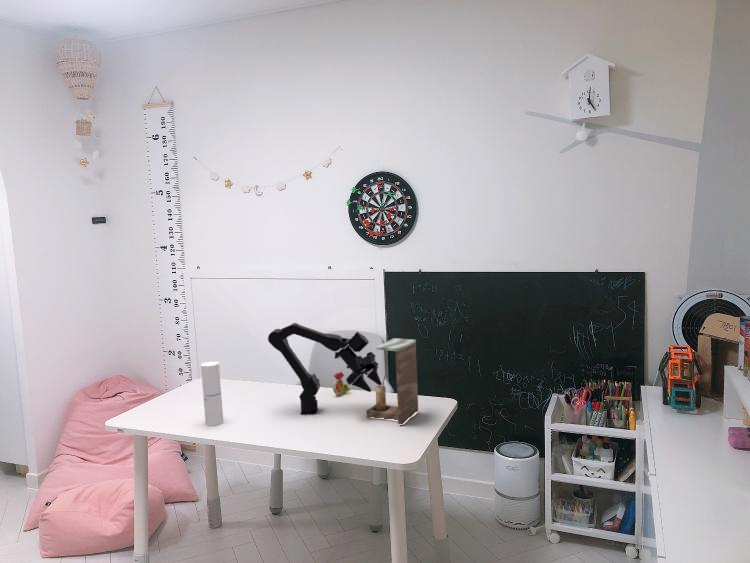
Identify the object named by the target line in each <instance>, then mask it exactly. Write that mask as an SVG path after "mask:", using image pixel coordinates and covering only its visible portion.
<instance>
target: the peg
mask: <svg viewBox="0 0 750 563" xmlns="http://www.w3.org/2000/svg"><path fill="white" fill-rule="evenodd" d="M386 396H387V394H386V386H384V385H377V386H376V387H375V405H376V409H377V411H383V412H385V411H386V405H387V400H386V399H387V398H386Z"/></svg>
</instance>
